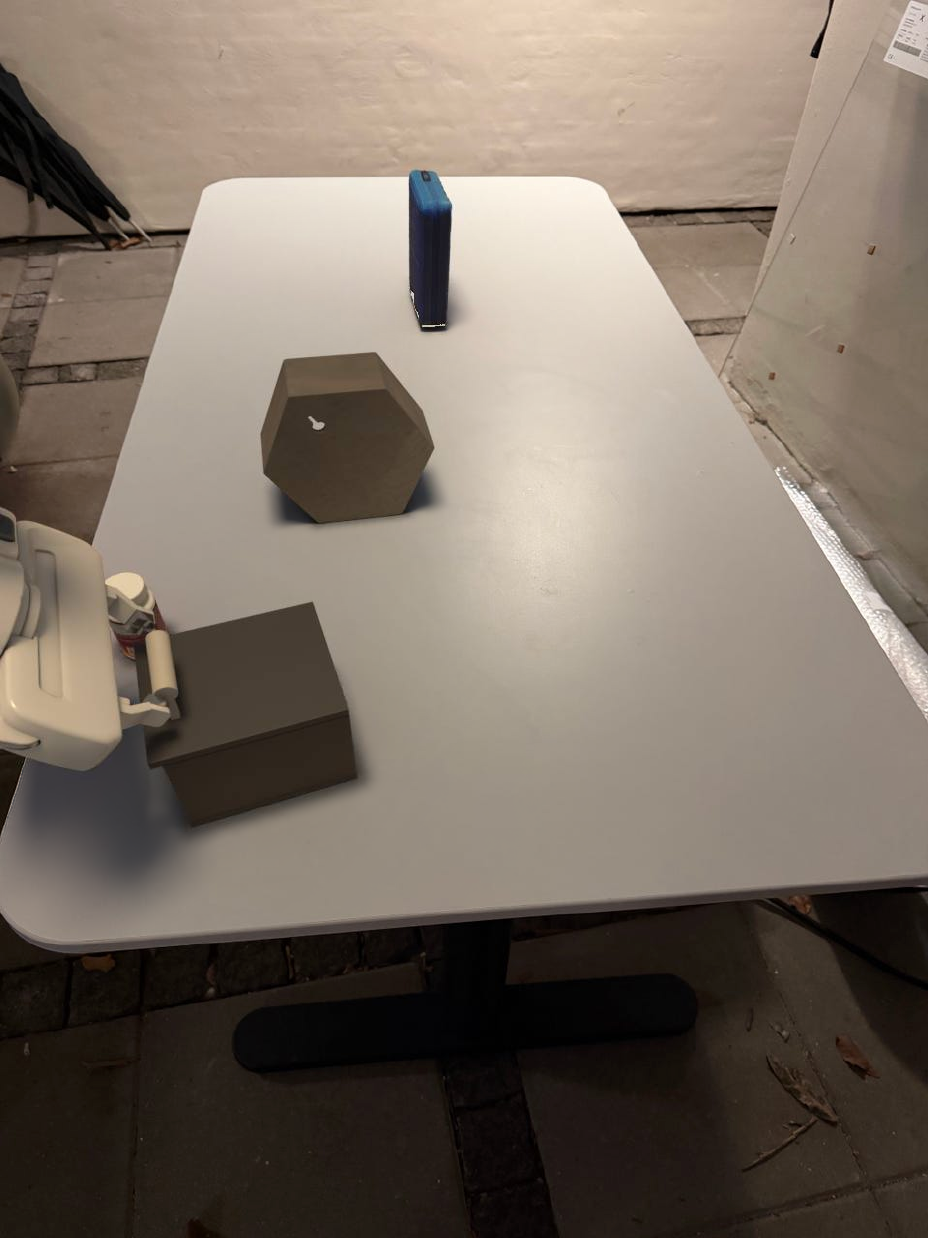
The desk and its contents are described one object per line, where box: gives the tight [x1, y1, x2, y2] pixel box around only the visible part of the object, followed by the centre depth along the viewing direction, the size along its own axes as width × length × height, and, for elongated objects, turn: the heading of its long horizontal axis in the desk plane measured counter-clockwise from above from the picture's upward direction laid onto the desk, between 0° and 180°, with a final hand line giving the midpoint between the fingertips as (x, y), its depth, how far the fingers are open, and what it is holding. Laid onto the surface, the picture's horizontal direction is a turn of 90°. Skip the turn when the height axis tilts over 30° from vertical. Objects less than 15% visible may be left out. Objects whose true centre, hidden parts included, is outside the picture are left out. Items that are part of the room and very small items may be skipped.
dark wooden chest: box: [162, 714, 358, 828], centre depth 68 cm, size 15×13×10 cm
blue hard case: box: [408, 169, 453, 329], centre depth 122 cm, size 14×5×20 cm, turn 11°
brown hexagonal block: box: [259, 351, 435, 524], centre depth 90 cm, size 17×8×21 cm
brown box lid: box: [133, 601, 350, 770], centre depth 63 cm, size 16×13×5 cm
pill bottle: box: [105, 572, 169, 661], centre depth 76 cm, size 5×5×8 cm
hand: (158, 667), depth 61 cm, fingers open, 8 cm apart
